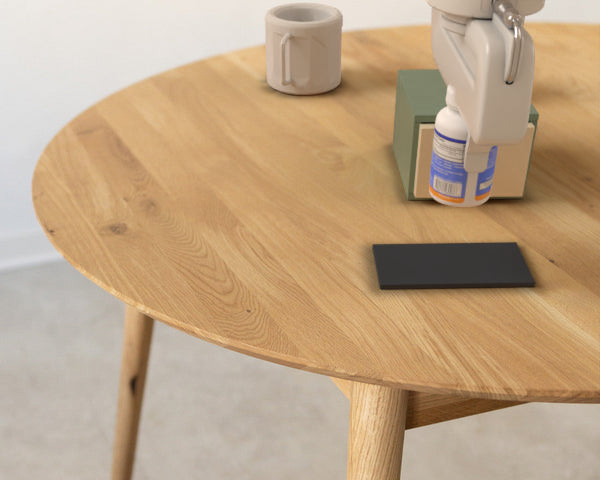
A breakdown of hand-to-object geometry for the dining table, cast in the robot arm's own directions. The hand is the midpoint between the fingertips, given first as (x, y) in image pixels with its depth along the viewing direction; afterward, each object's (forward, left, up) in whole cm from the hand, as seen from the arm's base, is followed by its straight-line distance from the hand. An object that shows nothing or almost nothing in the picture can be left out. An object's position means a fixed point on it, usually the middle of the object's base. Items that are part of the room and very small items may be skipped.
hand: (465, 151), depth 66 cm
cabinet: (-4, -20, -12) cm, 24 cm away
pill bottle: (0, 0, -4) cm, 4 cm away
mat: (0, 0, -12) cm, 12 cm away
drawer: (-4, -18, -11) cm, 21 cm away
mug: (+13, -48, -12) cm, 51 cm away
